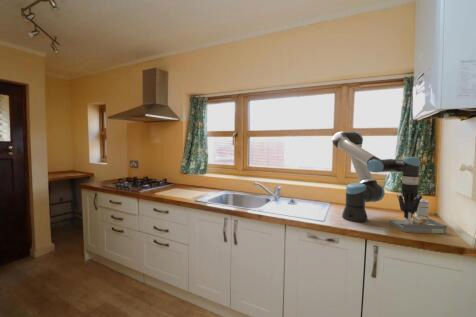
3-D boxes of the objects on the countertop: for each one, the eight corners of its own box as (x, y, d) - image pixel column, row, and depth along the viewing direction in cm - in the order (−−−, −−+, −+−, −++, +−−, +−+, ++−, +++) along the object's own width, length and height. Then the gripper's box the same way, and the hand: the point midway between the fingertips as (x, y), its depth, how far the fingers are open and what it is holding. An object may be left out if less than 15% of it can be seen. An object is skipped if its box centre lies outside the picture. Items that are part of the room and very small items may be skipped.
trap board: (403, 232, 127) (404, 224, 127) (388, 223, 141) (388, 216, 141) (445, 233, 126) (446, 225, 126) (426, 224, 140) (426, 217, 140)
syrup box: (428, 224, 140) (429, 201, 139) (416, 223, 143) (418, 200, 142) (424, 221, 145) (426, 199, 145) (413, 220, 148) (415, 198, 147)
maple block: (418, 227, 128) (419, 218, 128) (412, 224, 133) (412, 216, 133) (427, 227, 128) (428, 219, 128) (421, 224, 133) (421, 216, 133)
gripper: (402, 184, 125) (400, 225, 127) (426, 185, 125) (424, 226, 126) (394, 182, 133) (392, 220, 134) (417, 182, 132) (414, 221, 134)
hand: (407, 223), depth 130 cm, fingers closed
